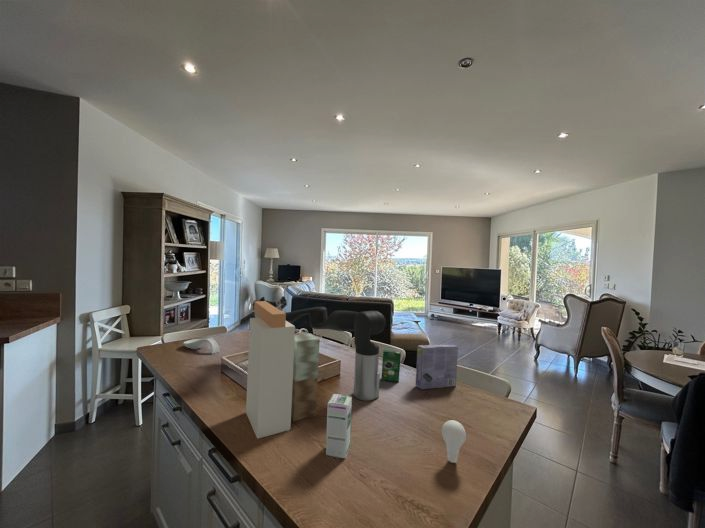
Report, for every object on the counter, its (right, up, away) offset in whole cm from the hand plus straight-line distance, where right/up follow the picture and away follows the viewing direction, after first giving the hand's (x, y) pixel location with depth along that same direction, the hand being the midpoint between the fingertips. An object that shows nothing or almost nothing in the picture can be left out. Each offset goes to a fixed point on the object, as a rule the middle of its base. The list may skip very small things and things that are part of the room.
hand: (274, 298), depth 124 cm
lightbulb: (+60, -39, -45) cm, 85 cm away
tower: (+16, -36, -24) cm, 46 cm away
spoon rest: (-49, -33, +37) cm, 70 cm away
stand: (+6, -36, -30) cm, 47 cm away
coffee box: (+50, -38, +7) cm, 63 cm away
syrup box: (+29, -37, -43) cm, 64 cm away
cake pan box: (+70, -39, +3) cm, 80 cm away
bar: (+5, -4, -26) cm, 26 cm away
